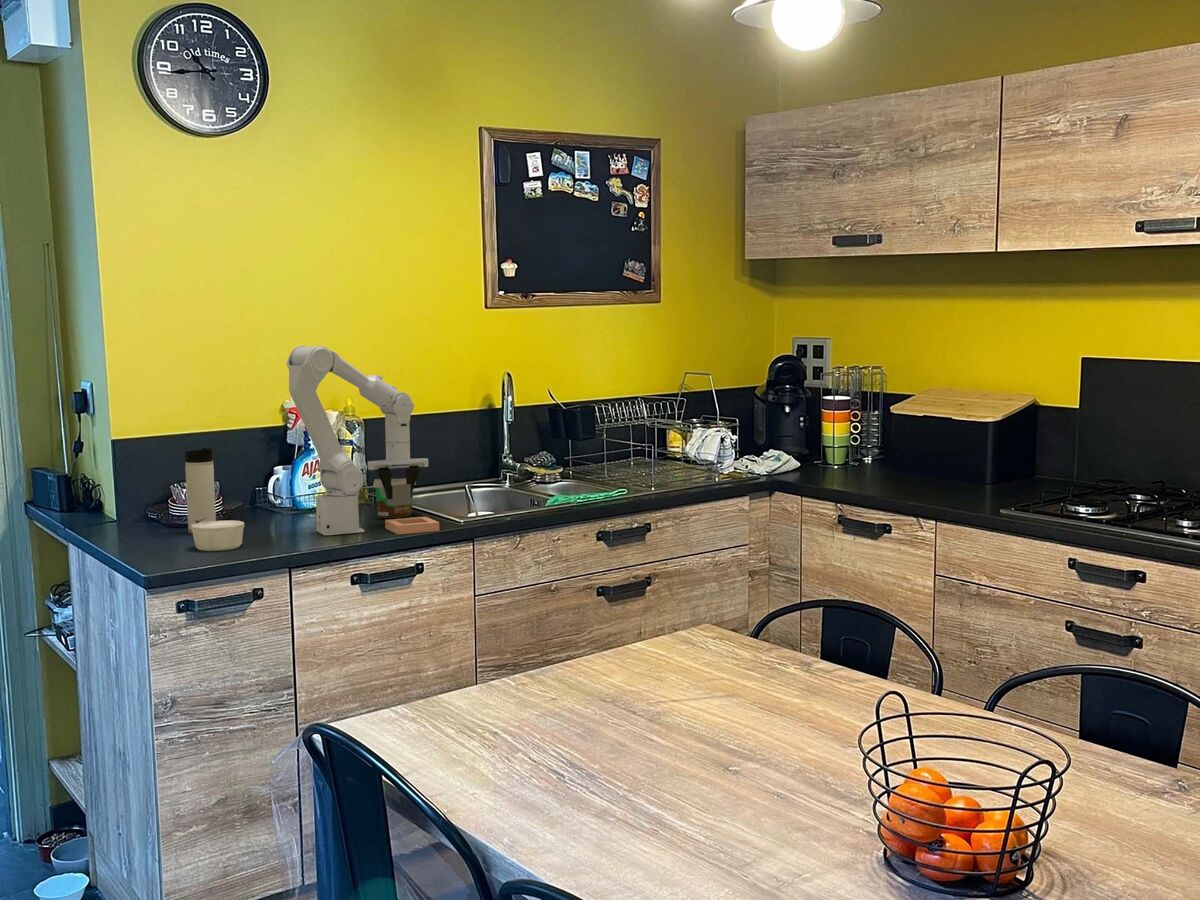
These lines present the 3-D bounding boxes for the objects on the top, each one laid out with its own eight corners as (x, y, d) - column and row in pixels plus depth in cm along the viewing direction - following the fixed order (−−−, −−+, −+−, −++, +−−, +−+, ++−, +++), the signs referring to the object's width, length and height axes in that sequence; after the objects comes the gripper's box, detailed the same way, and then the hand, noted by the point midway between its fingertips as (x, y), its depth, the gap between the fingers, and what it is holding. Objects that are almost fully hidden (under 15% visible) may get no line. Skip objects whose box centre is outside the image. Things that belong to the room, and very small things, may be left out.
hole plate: (397, 534, 272) (397, 525, 272) (385, 528, 281) (385, 520, 281) (439, 530, 277) (439, 522, 277) (425, 524, 286) (425, 516, 286)
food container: (391, 521, 292) (389, 480, 291) (374, 518, 296) (372, 479, 295) (427, 514, 302) (426, 475, 301) (410, 512, 306) (409, 474, 305)
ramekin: (212, 542, 266) (211, 519, 265) (255, 544, 262) (254, 520, 262) (180, 551, 255) (179, 526, 254) (225, 553, 252) (224, 528, 251)
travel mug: (201, 535, 275) (197, 449, 273) (182, 532, 278) (178, 447, 276) (223, 531, 280) (219, 446, 278) (204, 529, 283) (200, 445, 281)
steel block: (392, 506, 284) (392, 485, 284) (387, 503, 288) (386, 483, 288) (411, 504, 286) (410, 484, 286) (405, 502, 290) (404, 482, 290)
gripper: (421, 439, 292) (422, 494, 294) (363, 442, 286) (365, 498, 287) (430, 441, 286) (431, 497, 287) (371, 444, 280) (373, 501, 281)
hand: (399, 498), depth 287 cm, fingers closed on steel block, 4 cm apart
